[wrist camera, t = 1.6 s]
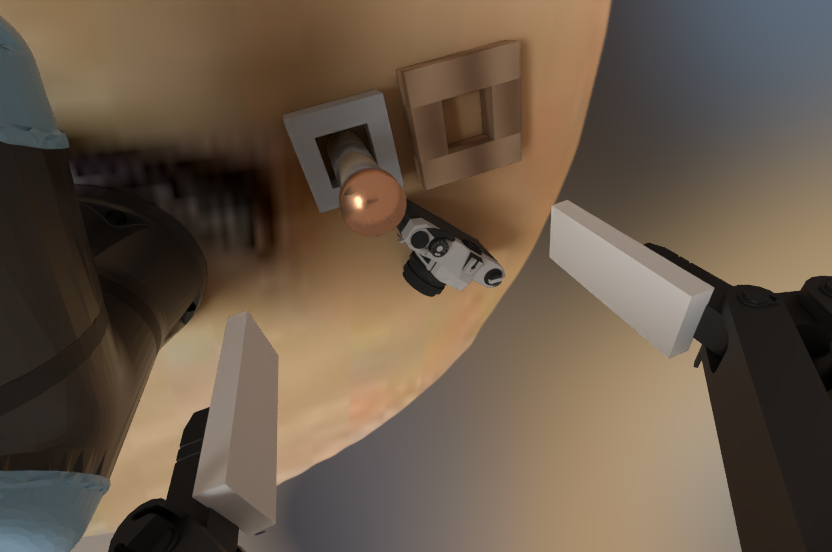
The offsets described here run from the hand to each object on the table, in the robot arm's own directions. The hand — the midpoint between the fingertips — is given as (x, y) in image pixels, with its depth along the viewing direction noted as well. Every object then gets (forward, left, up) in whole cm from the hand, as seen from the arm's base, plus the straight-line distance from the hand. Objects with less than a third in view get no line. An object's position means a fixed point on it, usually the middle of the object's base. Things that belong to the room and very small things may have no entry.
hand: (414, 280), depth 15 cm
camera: (+6, -12, -22) cm, 26 cm away
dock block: (+11, 0, -21) cm, 24 cm away
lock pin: (0, 0, -21) cm, 21 cm away
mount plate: (0, 0, -21) cm, 21 cm away
